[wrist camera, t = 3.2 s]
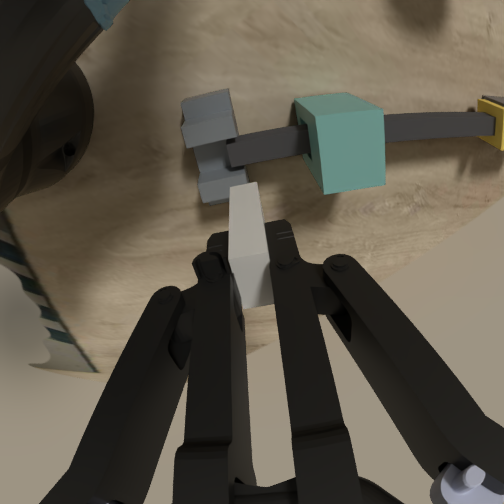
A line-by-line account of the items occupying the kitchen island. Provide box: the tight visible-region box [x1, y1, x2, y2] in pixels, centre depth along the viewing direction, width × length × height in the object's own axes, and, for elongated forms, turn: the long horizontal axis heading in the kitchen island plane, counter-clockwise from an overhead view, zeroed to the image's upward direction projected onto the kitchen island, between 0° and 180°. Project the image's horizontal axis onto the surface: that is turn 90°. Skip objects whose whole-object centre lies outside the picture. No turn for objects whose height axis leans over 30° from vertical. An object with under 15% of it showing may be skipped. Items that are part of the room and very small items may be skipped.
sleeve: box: [294, 92, 385, 195], centre depth 24 cm, size 5×6×8 cm
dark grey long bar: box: [226, 99, 504, 167], centre depth 24 cm, size 34×4×4 cm, turn 101°
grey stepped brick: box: [181, 89, 250, 206], centre depth 26 cm, size 4×10×5 cm, turn 11°
